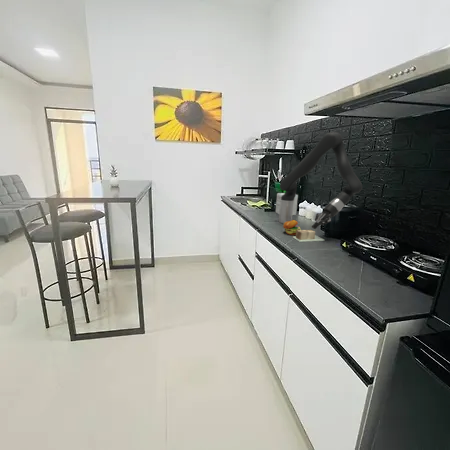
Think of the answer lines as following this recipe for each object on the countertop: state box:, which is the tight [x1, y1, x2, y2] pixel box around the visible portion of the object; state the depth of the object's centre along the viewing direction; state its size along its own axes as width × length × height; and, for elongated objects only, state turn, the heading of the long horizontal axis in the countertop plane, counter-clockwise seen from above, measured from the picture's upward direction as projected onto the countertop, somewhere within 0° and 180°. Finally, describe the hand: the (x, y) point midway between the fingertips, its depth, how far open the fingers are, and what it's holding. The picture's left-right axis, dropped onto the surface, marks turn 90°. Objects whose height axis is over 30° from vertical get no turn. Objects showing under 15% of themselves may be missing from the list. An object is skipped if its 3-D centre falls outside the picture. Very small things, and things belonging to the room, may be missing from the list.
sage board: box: [292, 234, 325, 243], centre depth 151 cm, size 16×9×1 cm, turn 103°
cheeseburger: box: [282, 219, 302, 236], centre depth 160 cm, size 10×11×10 cm
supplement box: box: [275, 192, 299, 216], centre depth 219 cm, size 13×13×18 cm
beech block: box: [295, 229, 316, 240], centre depth 150 cm, size 4×4×10 cm
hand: (313, 228), depth 150 cm, fingers closed
